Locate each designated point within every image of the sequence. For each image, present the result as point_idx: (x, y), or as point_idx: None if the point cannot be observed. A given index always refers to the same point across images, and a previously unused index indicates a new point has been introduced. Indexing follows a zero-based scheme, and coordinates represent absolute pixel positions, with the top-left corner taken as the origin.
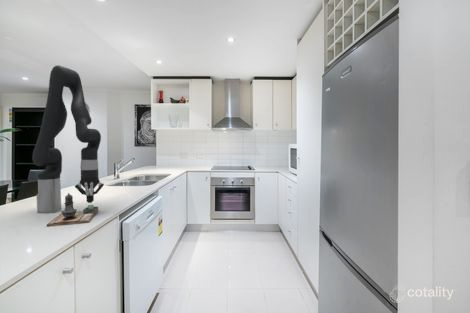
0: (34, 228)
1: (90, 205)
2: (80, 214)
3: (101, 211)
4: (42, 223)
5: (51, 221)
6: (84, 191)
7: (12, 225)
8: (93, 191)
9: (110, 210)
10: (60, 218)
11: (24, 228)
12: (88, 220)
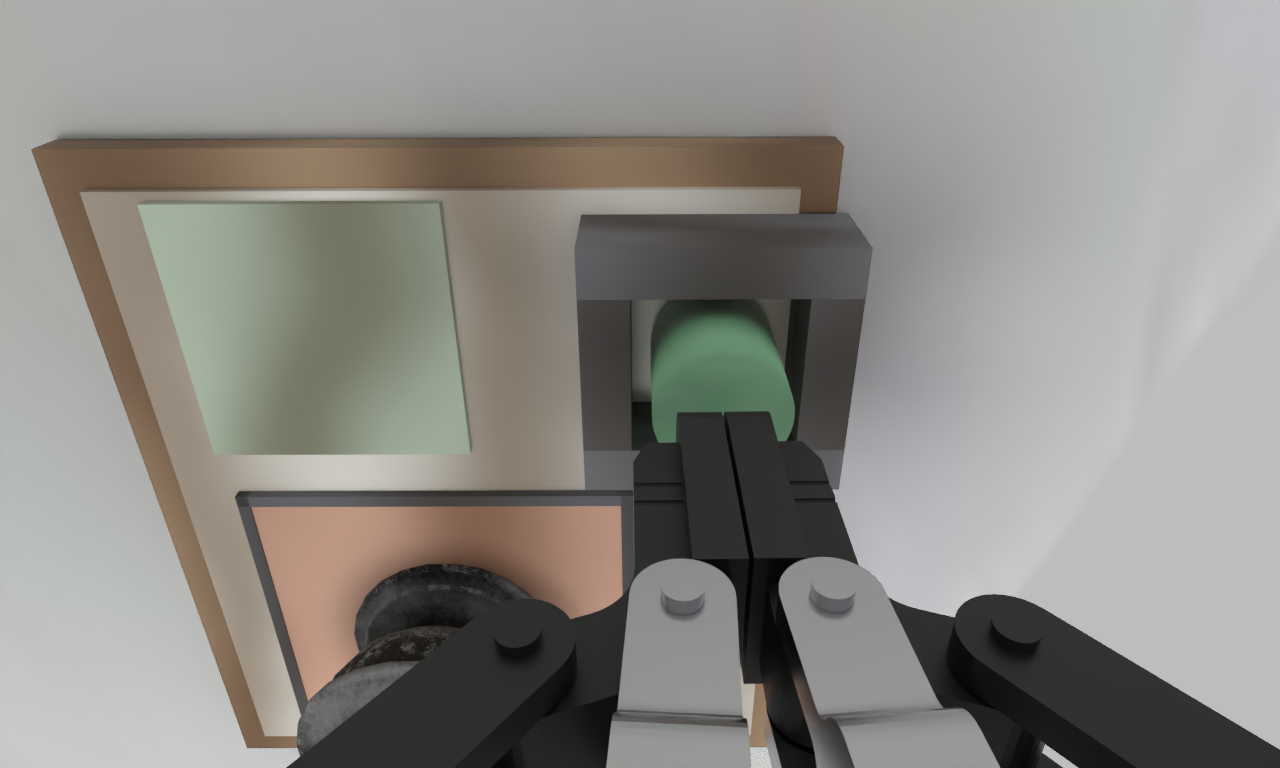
0: (144, 745)
1: (716, 408)
2: (542, 440)
3: (907, 153)
4: (94, 599)
5: (222, 648)
6: (521, 723)
7: None
8: (901, 696)
9: (1115, 124)
10: (298, 601)
11: (6, 718)
12: (759, 732)
